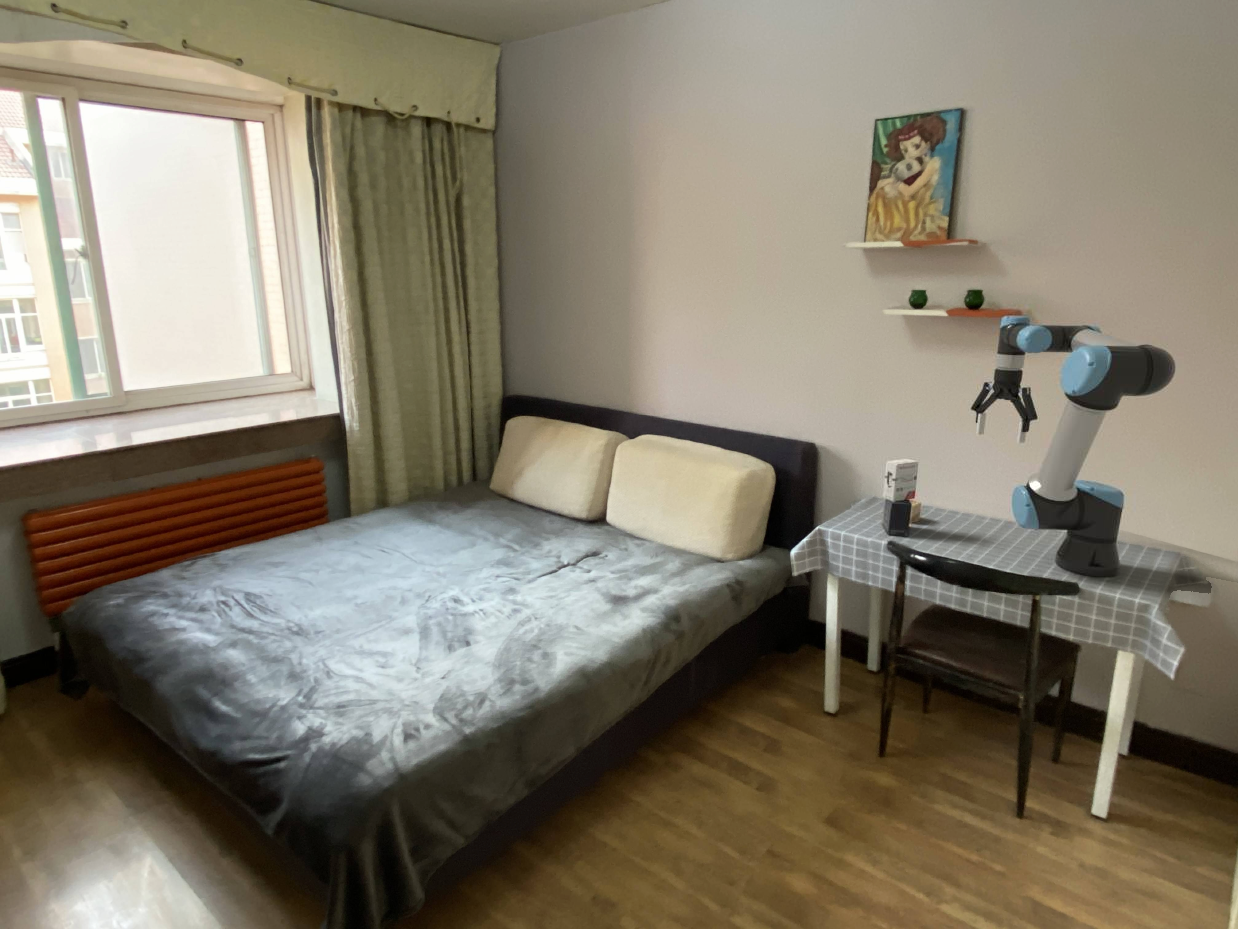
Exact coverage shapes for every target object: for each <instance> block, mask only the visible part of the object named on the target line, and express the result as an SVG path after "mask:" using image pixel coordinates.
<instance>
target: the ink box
mask: <svg viewBox="0 0 1238 929" xmlns="http://www.w3.org/2000/svg"><path fill="white" fill-rule="evenodd" d="M918 468H919V461H917V460H913V459H909V458H902V459H894V460H887V461H886V463H885V472H884V474H885V475H884V483H883V484H884V485H883V493H882V496H883V498H884V499H885V498H886V499H888V500H891V501H901V500H908V499H909V500H913V499H915V498H916V490H917V479H918Z"/></svg>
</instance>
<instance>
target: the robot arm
mask: <svg viewBox="0 0 1238 929" xmlns="http://www.w3.org/2000/svg"><path fill="white" fill-rule="evenodd" d="M1030 322H1031V320H1030V317H1029V316H1025V315H1005V316H1003V317H1002V318H1001V321H1000V327H999V334H998V345H997V352H996V358H995V367H996V368H995V369H994V372H993V373H994V374H993V381H994V382H992V381H985V382H983V384H982V389H981V391H980V392H979V394H978V396H977V397H976V399H975V401H974V402H973V404H972V405H971V408H970V410H971V411H974V412H975V413H976V415H975V424H976V430H975V431H976V432H975V435H977V436H978V435H979V436H980V435H984V433H985V429H986V428H985V425H986V417H987V413H986V412H985V411H987V410H988V409H989V407H991V405H993V404H994V403H995V402H996V401H997V400H1004V401H1010V403H1012V405H1013V406H1014V408H1015V409H1016V411H1017V413H1018V415H1019V416H1020V418H1021V420H1020V421H1019V425H1018V432H1017V440H1016V443H1017V444H1021V443H1022V444H1023V443H1026V437H1027V436H1026V435H1027V433H1029V431H1030V424H1031V422H1032V421H1036V420H1038V414H1037V411H1036V408H1035V405H1034V401H1033V398H1032V395H1031V393H1032V391H1031V387H1030V386H1027V387H1026V386H1025V387H1021V383H1022V380H1023V374H1024V372H1023V368H1024V366H1025V359H1026V354H1027V353H1028V354H1040V353H1069V354H1068V355H1067V357H1066V358H1065V361H1064V362H1063V364H1062V367H1061V370H1060V374H1061V377H1059V378H1060V379H1059V380H1060V382H1059V383H1060V386H1061V389H1062V390H1063V394H1064V396H1065V398H1066V400H1067V403H1066V405H1065V408H1064V409H1063V412H1062V414H1061V417H1060V419H1059V421H1058V424H1057V426H1056V429H1055V431H1054V435H1053V436H1052V439H1051V441H1050V444H1049V446H1048V449H1047V451H1046V454H1045V456H1044V458H1043V461H1042V462H1041V465H1040V468H1039V469H1038V472H1035V473H1033V474H1031V475H1030V476H1029V478H1028V480H1027V482H1026V485H1023V484H1020V485H1018V486H1016V487H1014V489H1013V492H1012V494H1011V508H1012V514H1013V517H1014V519H1015V522H1017V525H1018V526H1019V527H1021V528H1023V529H1026V530H1027V529H1028V530H1035V531H1038V530H1040V531H1041V530H1044V531H1045V530H1047V531H1050V530H1051V531H1066V535H1065V537H1064V539H1063V541H1062V542H1061V544H1060V546H1059V547H1058V549H1057V550H1056V553H1055V557H1054V563H1055V564H1056V565H1057V566H1058V567H1060V568H1062V569H1063V570H1065V571H1066V570H1067V571H1070V572H1072V573H1076V574H1079V575H1080V574H1081V575H1084V576H1091V577H1101V578H1102V577H1104V578H1105V577H1106V578H1108V576H1110V577H1115V576H1117V575H1119V574H1120V571H1121V570H1120V569H1121V559H1120V557H1119V556H1120V555H1119V551H1118V546H1117V541H1118V537H1119V536H1118V535H1119V530H1120V525H1121V520H1122V513H1123V509H1124V505H1125V503H1124V501H1125V495H1124V492H1122V490H1120V489H1119V488H1117V487H1114V486H1112V485H1108V484H1104V483H1100V482H1097V481H1091V480H1083V479H1079V480H1077V478H1078V477H1079V474H1080V472H1081V470H1082V468H1083V465H1084V463H1085V461H1086V459H1087V457H1088V454H1089V451H1090V450H1091V448H1092V445H1093V443H1094V442H1095V439H1096V437H1097V435H1098V432H1099V430H1100V428H1101V425H1102V424H1103V421H1104V419H1105V417H1106V415H1107V413H1108V412H1111V411H1114V410H1116V409H1117V408H1118V406H1119V403H1120V402H1121V399H1122V398H1123V397H1145V396H1149V395H1153V394H1156V393H1158V392H1161V390H1163V389H1165V388H1166V387H1167V386H1168V385H1169V384H1170V383H1171V382H1172V380H1173V378H1174V377H1175V373H1176V362H1175V360H1174V358H1173V356H1172V355H1171V354H1170V352H1168V351H1167V350H1165V349H1163V348H1161V347H1157V346H1154V345H1152V344H1147V343H1146V344H1135V343H1132V342H1129V341H1125V340H1123V339H1120V338H1117V337H1113V336H1110V335H1107V334H1105V333H1103V332H1102V331H1101V329H1100V327H1099V326H1095V325H1087V324H1082V325H1057V324H1055V325H1054V324H1053V325H1052V324H1051V325H1050V324H1049V325H1048V324H1045V325H1044V324H1031V323H1030ZM991 390H993V392H992V393H991V394H990V392H991ZM989 394H990V395H989ZM1019 394H1020V395H1019ZM988 396H989V397H988ZM987 397H988V398H987ZM1022 401H1023V402H1022Z"/></svg>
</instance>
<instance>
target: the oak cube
mask: <svg viewBox="0 0 1238 929" xmlns="http://www.w3.org/2000/svg"><path fill="white" fill-rule="evenodd" d="M908 500H909V501H910V502H911V504H912V507H911V515H910V523H909V525H910V524H914V523H916V522H918V521H919V520H920V519H921V518H920V517H921V511H922V510H921V508H922V501H917V500H913V499H908Z"/></svg>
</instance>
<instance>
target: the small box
mask: <svg viewBox="0 0 1238 929" xmlns="http://www.w3.org/2000/svg"><path fill="white" fill-rule="evenodd" d="M909 500H910V499H909ZM909 500H901V501H891V500H888V499H886V498H884V505H883V512H882V513H883V514H882V521H881V525H882V527H883V529H884V531H885V533H886V535H887V536H900V537H909V530H910V515H911V507H912V504H911V502H910V501H909Z"/></svg>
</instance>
